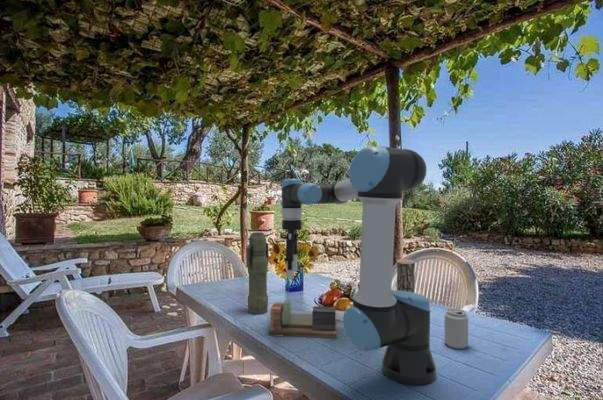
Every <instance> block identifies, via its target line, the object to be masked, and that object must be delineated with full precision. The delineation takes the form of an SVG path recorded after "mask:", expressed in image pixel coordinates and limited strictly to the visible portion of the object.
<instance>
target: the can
mask: <svg viewBox="0 0 603 400" xmlns="http://www.w3.org/2000/svg"><path fill="white" fill-rule="evenodd" d="M444 343H445V344H446V345H447V346H448V347H449V348H451V349H454V350H455V349H456V350H464V349H465V348H467V347H468V346H469V316H468V315H467V312H466V311H465V310H464V309H459V308H448V309H446V312H445V313H444Z"/></svg>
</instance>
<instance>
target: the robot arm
mask: <svg viewBox="0 0 603 400" xmlns="http://www.w3.org/2000/svg"><path fill="white" fill-rule="evenodd" d="M426 176H427V165H426V161H425V160H424V158H423V157H422V156H421V154H419V153H418V152H417V151H415V150H412V149H407V148H397V147H388V146H383V145H382V146H367V147H363V148H362V149H360V150H359V151H358V152H357V153H356V155H354V156H353V158H352V160H351V163H350V166H349V171H348V178H346V179H343V180H340V181H337V182H334V183H313V182H305V183H302V180H301V179H299V178H286V179H283V180H282V181H281V208H282V210H280V213H281V218H282V221H281V222H282V223H281V228H282V230H284V231H287V233H286V237H285V238H286V246H285V258H284V260H283V261H284V262H285V263H286V264H285V267H286V269H285V270H286V273H285V274H286V276H285V277H286V278H285V279H287V280H288V279H289V280H294V279H295V272H297V271H298V255H299V254H300V251H299V249H298V248H299V247H298V234H297V233H298V231H300V230H302V222H303V221H302V220H301V219H302V218H303V216H302V214H303V211H302V207H303V206H302V205H308V206H309V205H325V204H326V205H327V204H328V205H332V204H333V205H341V204H347V202H348V201H350V200H351V201H352V200H355V199H358V200H359V201H360V202H361V204H362V212H361V213H362V215H361V216H362V219H361V239H360V241H361V242H360V261H359V262H360V263H359V281H358V282H359V286H358V291H356V292H355V293H354V294H353V297H352V306H350V307H348V308H347V309H346V310H345V311H344V312H343V319H342V320H343V321H342V322H343V328H344V330H345V333H346V336H347V337H348V339H349V341H350V342H351V344H352V345H353V347H355V348H357V349H358V350H360V351H362V352H369V351H377V350H379V349H380V348H384V347H386V348H385V352H384V354H383V357H382V362H381V366H382V367H381V369H382V372H383V373H384V375H386V377H387V378H389V379H391V380H393V381H395V382H397V383H400V384H405V385H411V386H414V385H415V386H422V385H427V384H431V383H432V382H434V381H435V379H437V378H436V377H437V367H436V364H435V361H434V357H433V354H432V351H431V348H430V346H431V345H430V343H431V342H430V340H431V339H430V337H431V336H430V332H431V329H430V328H431V327H430V326H431V309H430V307H431V305H430V301H429V299H428V298H427V296H424V295H423V294H420V293H417V292H414V293H413V292H407V291H397V290H393V289H392V286H393V265H394V247H395V246H394V245H395V228H396V227H395V226H396V209H397V207H396V206H397V204H398V203H400V202H401V201H402V200H403V192H407V191H413V190H415V189H417V188H418V187H420V186H421V185H422V184H423V182H424V180H426Z"/></svg>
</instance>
